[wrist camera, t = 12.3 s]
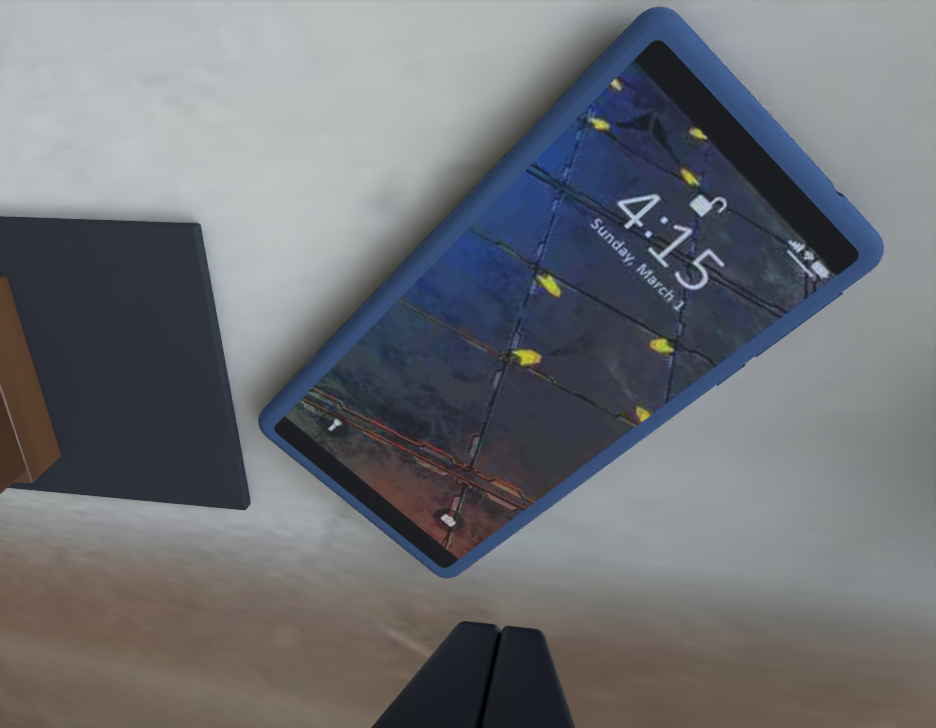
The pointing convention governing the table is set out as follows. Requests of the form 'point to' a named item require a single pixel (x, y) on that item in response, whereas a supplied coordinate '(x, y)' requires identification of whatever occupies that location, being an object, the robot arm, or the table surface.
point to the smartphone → (573, 301)
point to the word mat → (127, 359)
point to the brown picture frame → (21, 403)
